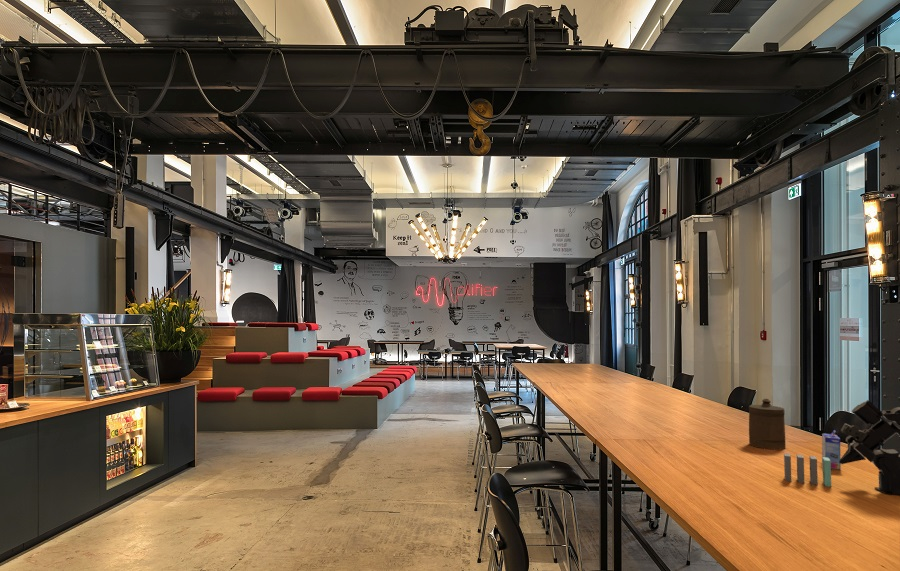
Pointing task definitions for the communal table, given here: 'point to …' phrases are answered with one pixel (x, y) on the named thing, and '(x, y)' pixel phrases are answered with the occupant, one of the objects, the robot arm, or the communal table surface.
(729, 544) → the communal table surface
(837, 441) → the ink cartridge box
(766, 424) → the wooden container
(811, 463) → the domino
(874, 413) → the robot arm
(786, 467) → the domino end
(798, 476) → the domino
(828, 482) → the domino
